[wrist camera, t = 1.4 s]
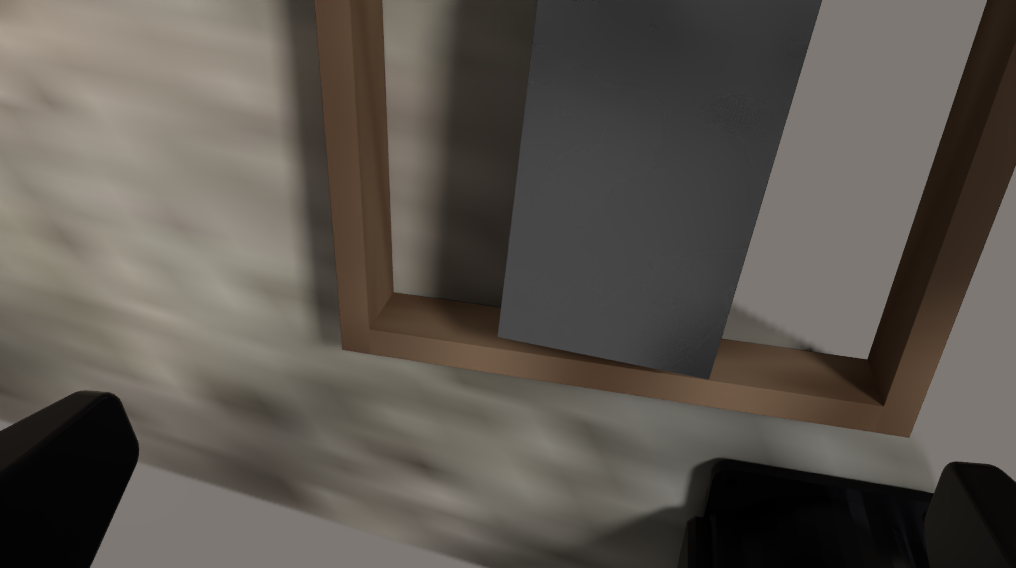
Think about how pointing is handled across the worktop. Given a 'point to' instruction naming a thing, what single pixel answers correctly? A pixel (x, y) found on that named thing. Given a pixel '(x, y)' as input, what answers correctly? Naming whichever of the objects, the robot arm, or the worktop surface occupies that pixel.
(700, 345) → the dark gray box
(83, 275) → the worktop surface
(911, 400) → the walnut box
